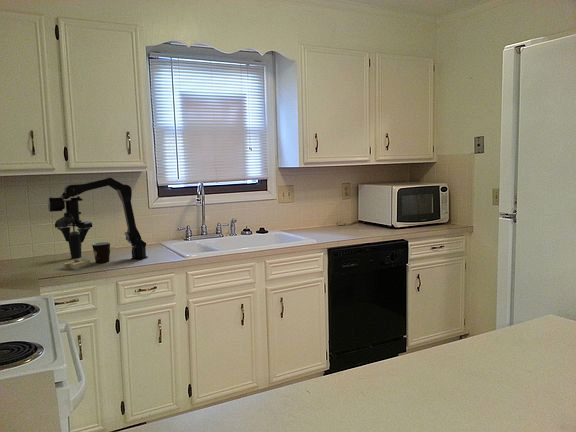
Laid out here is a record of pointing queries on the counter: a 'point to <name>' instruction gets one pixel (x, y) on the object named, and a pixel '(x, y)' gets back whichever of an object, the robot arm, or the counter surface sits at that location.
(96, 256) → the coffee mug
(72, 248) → the drinking cup
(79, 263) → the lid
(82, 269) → the mat
